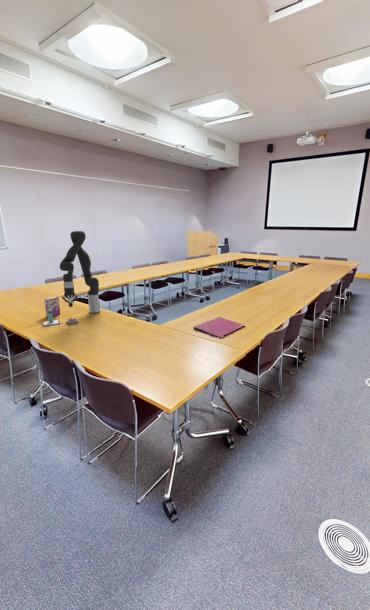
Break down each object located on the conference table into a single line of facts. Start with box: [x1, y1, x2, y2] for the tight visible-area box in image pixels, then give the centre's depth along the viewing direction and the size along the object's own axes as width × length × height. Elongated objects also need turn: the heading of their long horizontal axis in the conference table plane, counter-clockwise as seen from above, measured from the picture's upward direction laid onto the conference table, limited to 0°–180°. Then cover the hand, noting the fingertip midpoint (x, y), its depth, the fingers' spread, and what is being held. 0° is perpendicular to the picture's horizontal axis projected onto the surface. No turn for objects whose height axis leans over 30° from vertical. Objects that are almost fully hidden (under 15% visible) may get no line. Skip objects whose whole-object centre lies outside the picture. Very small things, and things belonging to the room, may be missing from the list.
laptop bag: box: [193, 316, 244, 339], centre depth 235 cm, size 40×4×27 cm
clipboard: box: [41, 319, 61, 328], centre depth 241 cm, size 13×10×1 cm
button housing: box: [66, 317, 79, 326], centre depth 243 cm, size 8×8×2 cm
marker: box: [47, 310, 54, 323], centre depth 239 cm, size 3×3×10 cm
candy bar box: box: [44, 296, 61, 317], centre depth 258 cm, size 11×5×16 cm, turn 146°
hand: (70, 306), depth 239 cm, fingers closed
